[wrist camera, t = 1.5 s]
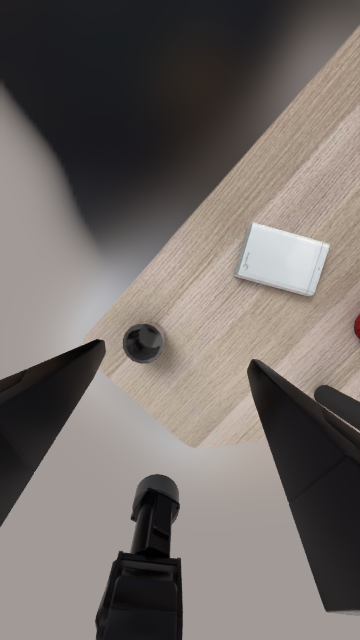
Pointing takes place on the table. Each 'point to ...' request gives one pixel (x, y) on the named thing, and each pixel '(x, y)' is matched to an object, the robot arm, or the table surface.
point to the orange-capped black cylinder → (339, 404)
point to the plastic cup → (357, 326)
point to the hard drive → (281, 259)
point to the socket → (144, 342)
